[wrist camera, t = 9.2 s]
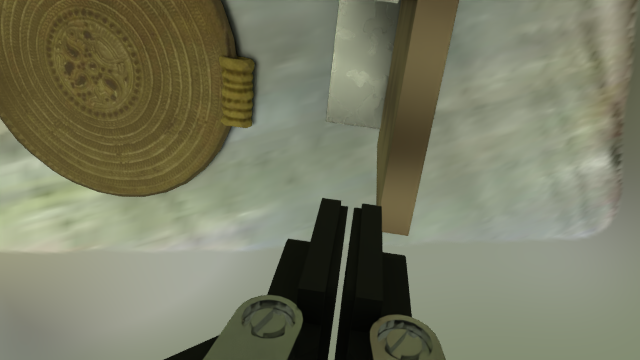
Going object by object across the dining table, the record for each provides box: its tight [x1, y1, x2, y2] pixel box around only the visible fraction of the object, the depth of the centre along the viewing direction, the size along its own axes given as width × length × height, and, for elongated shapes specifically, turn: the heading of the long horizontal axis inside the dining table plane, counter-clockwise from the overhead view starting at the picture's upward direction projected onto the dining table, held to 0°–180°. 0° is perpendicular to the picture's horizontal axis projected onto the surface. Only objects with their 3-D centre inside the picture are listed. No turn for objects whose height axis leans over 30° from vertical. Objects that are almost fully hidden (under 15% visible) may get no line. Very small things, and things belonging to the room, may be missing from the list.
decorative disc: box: [0, 0, 255, 197], centre depth 41 cm, size 29×3×30 cm
